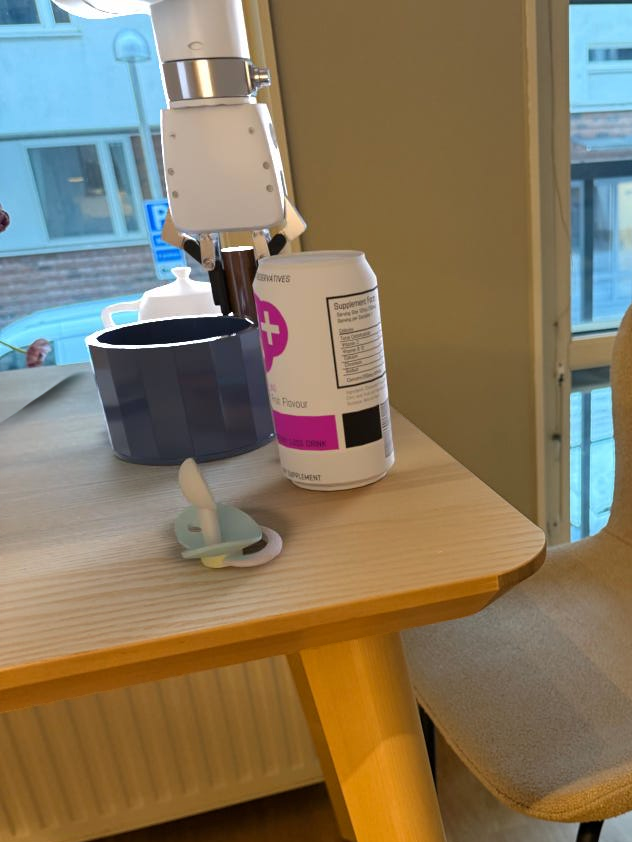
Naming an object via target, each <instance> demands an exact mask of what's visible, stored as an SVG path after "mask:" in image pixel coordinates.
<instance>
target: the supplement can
mask: <svg viewBox="0 0 632 842" xmlns="http://www.w3.org/2000/svg"><path fill="white" fill-rule="evenodd" d="M258 263H259V266H258V270H257V273H256V276H255V279H254V282H253V285H252V286H253V292H254V298H255V305H256V311H257V317H258V323H259V330H260V336H261V342H262V348H263V355H264V361H265V367H266V373H267V380H268V386H269V392H270V398H271V405H272V411H273V417H274V423H275V430H276V442H277V447H278V453H279V460H280V468H281V471H282V476H283V477H285V478H287V479H289V480H291V482H292V484H293V485H296V486H297V487H299V488H301V489H305V490H311V491H327V492H330V491H331V492H332V491H343V490H344V491H345V490H349V489H350V490H351V489H355V488H360V487H364V486H367V485H370V484H372V483H375V482H377V481H379V480H381V479H382V478H384V477H385V476H386V474H387V472H388V470H389V469H391V468H392V467H393V464H394V462H395V452H394V441H393V432H392V422H391V411H390V401H389V391H388V382H387V381H388V380H387V371H386V360H385V359H386V358H385V351H384V342H383V331H382V321H381V320H382V319H381V308H380V300H379V289H378V280H377V276H376V274H375V272H374V271H373V269H372V268H371V265H370V264H369V263H368V260H367V259H366V255H365V252H363V251H361V250H354V249H350V250H349V249H332V250H331V249H329V250H328V249H327V250H326V249H325V250H311V251H310V250H309V251H299V252H290V253H289V252H288V253H282V254H281V253H280V254H279V255H275V256H270V257H265V258H262V259H260V260H258Z"/></svg>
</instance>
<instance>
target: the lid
mask: <svg viewBox="0 0 632 842" xmlns="http://www.w3.org/2000/svg"><path fill="white" fill-rule="evenodd" d="M220 256H221V260H222V261H223V266H224V271H225V277H226V283H227V288H228V294H229V299H230V305H231V311H232V313H231V314H229V315H238V316H246V317H253V318H256V319H258V317H257V311H256V305H255V298H254V292H253V286H252V285H253V282H254V279H255V274H254V269H255V268H257V265H256V260H257V257H256V251H255V247H254V246H238V247H236V246H235V247H228V248H223V249H220ZM217 315H222V314H217Z"/></svg>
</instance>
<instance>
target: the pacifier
mask: <svg viewBox="0 0 632 842" xmlns="http://www.w3.org/2000/svg"><path fill="white" fill-rule="evenodd" d="M178 484H179V487H180V490H181V492H182V494H183V496H184V497H185V499H186V500H187V501H188V503H190V504H191V506H188V507H186V508H185V509H184V510H183V511H181V513H179V515H177V518H176V520H175V522H174V525H173V526H174V527H173V529H174V530H173V531H174V534H175V537H176V539H177V541H178V542H179V544H180V545H181V546H183V548H186V549H185V550H183V551H182V552H181V553H180V554H181V557H182V558H183V559H200V562H201V564H202V565H204V566H205V567H207V568H211V569H213V568H214V569H219V568H226V567H236V568H250V567H256V566H261V565H264V564H266V563H268V562H270V561H272V560H273V559H275V558H276V557H278V555H279V554H280V553H281V551H282V549H283V544H284V543H283V540H282V537H281V535H280V534H278V532H277V531H275V530H273V529H272V528H270V527H267V526H264V525H259V524H258V523H257V522H256V521H255V520H254V518H252V517H251V516H250V515H249V514H248V513H246V512H244V511H243V510H241V509H239V508H237V507H235V506H233V505H229V504H225V503H221V502H216V500H215V498H214V494H213V492H212V490H211V487H210V486H209V484H208V482H207V480H206V478H205V475H204V474H203V473H202V470H201V469H200V466H199V465H198V464H197V463H196V462H195V461H194V460H193V459H192V458H188V459H187V460H185V461H184V462H183V464H181V465H180V467H179V471H178ZM192 528H199V529H201V530H200V531H197V532H194V531H191V530H190V529H192ZM261 540H263V541H264V542H265V543H266V546H265V547H264V548H262V549H261V550H259V551H256V552H253V553H250V554H249V553H248V554H244V550H243V549H245V548H247V547H250V546H252V545H254V544H257V542H259V541H261Z"/></svg>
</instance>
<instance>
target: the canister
mask: <svg viewBox="0 0 632 842" xmlns="http://www.w3.org/2000/svg"><path fill="white" fill-rule="evenodd" d="M84 343H85V346H86V350H87V355H88V358H89V362H90V367H91V370H92V374H93V378H94V382H95V386H96V390H97V391H96V392H97V394H98V398H99V402H100V406H101V411H102V415H103V419H104V424H105V427H106V431H107V434H108V439H109V442H110V443H109V444H110V445H111V448H112V451H113V454H114V455H115V457H116V458H118V459H119V460H121V461H124V462H127V463H131V464H137V465H146V466H149V465H150V466H178V465H179V466H181V465H182V464H183V462H184V461H185V460H187V459H188V458H192V459H193V460H194V461H195V462H196V464H197V463H198V464H201V463H205V462H212V461H217V460H222V459H226V458H231V457H236V456H239V455H242V454H247V453H249V452H251V451H254V450H257V449H259V448H262V447H263V446H266V445H268V444H269V443H270V442H272V441H273V440H274V439H276V438H277V436H276V430H275V423H274V417H273V411H272V405H271V398H270V392H269V386H268V380H267V373H266V367H265V361H264V355H263V348H262V342H261V336H260V330H259V323H258V319H256V318H253V317H246V316H238V315H200V316H184V317H173V318H164V319H156V320H148V321H142V322H138V321H137V322H132V323H127V324H121V325H116V327H113V328H109V329H106V328H105V329H103V330H100V331H96V332H94V333H93V334H91V335H89V336H87V337H85V338H84Z"/></svg>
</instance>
